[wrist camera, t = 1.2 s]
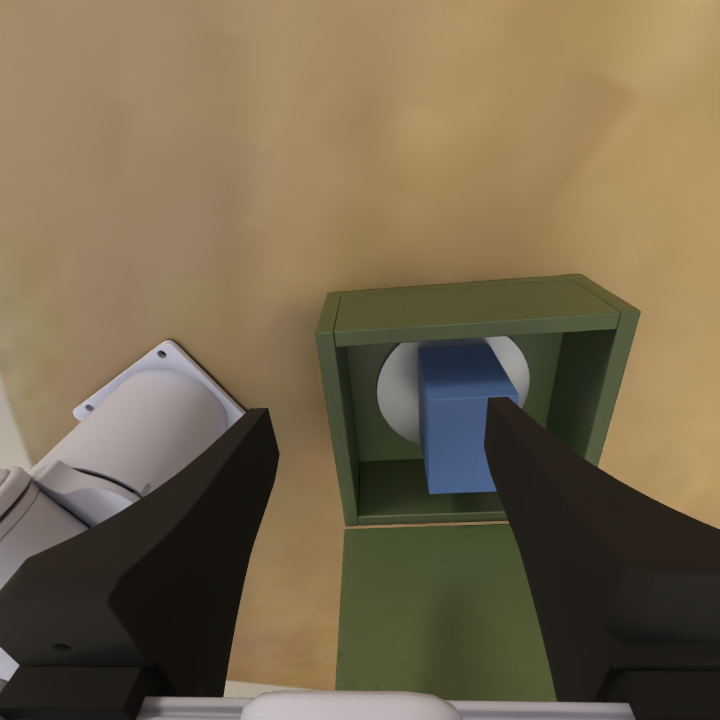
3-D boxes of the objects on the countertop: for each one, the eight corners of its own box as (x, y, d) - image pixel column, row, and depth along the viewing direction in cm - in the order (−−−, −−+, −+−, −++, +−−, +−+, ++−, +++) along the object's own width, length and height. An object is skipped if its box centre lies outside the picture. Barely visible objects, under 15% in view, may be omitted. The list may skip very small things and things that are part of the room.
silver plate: (424, 465, 26) (424, 469, 26) (346, 371, 23) (346, 374, 23) (552, 405, 24) (554, 408, 23) (486, 288, 20) (487, 290, 20)
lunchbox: (327, 292, 22) (314, 332, 17) (581, 273, 21) (641, 310, 16) (349, 462, 28) (345, 526, 23) (547, 453, 27) (583, 518, 22)
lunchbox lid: (319, 951, 11) (322, 950, 12) (822, 971, 10) (809, 970, 11) (344, 528, 22) (345, 534, 23) (588, 520, 22) (585, 527, 22)
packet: (417, 348, 22) (428, 399, 17) (490, 344, 22) (519, 394, 17) (419, 432, 25) (429, 494, 20) (483, 429, 24) (507, 491, 20)
